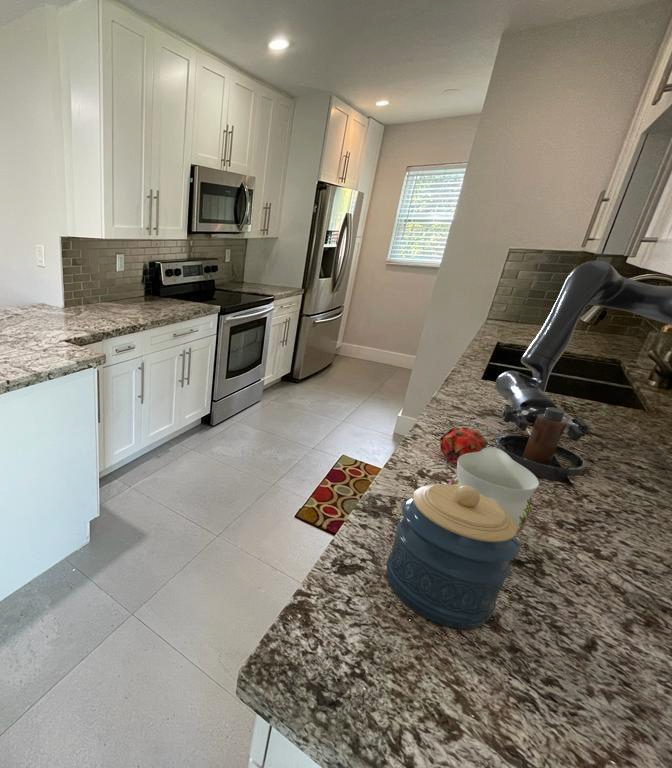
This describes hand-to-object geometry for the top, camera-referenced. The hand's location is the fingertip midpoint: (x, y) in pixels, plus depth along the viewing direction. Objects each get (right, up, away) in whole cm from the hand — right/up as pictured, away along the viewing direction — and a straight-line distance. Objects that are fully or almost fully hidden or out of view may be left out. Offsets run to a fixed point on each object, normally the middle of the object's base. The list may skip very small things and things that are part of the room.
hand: (550, 431), depth 88 cm
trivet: (+15, -5, +13) cm, 21 cm away
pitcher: (-32, -16, -19) cm, 40 cm away
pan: (+1, -8, +5) cm, 9 cm away
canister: (-45, -20, -29) cm, 57 cm away
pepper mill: (+1, -7, +4) cm, 9 cm away
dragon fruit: (-16, -8, +5) cm, 19 cm away
